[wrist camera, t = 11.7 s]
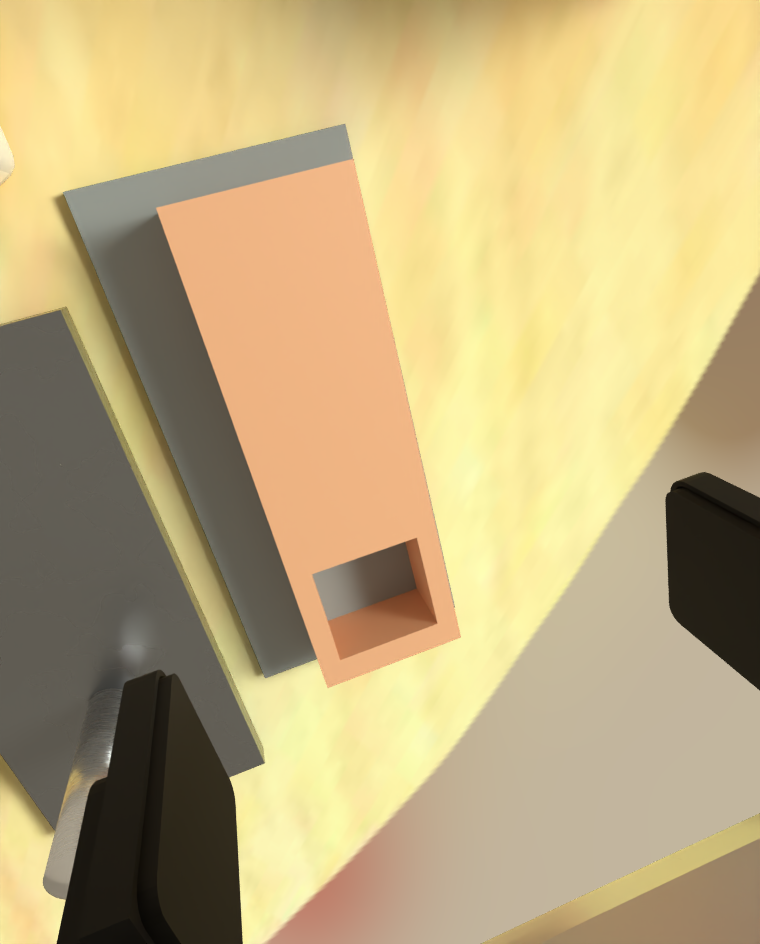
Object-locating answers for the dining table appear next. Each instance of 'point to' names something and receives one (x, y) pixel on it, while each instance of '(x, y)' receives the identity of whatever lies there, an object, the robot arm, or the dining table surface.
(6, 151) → the eye dropper bottle
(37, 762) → the pin stand
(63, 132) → the dining table surface
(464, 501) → the dining table surface
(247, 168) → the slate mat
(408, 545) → the link bar
